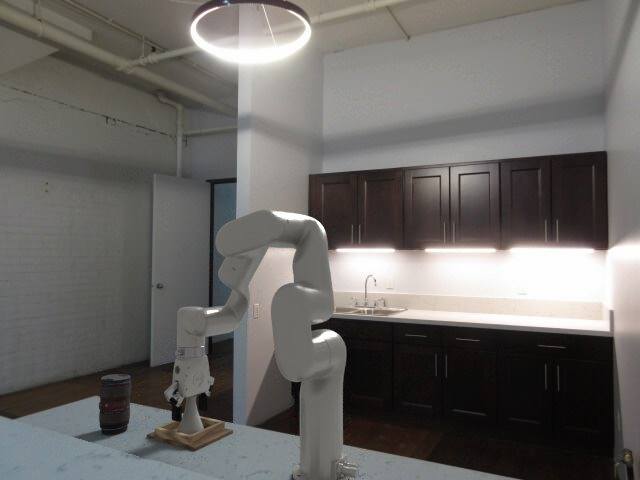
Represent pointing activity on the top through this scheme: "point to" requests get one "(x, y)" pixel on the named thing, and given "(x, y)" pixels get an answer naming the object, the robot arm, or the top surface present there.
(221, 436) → the shaker holder
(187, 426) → the flask
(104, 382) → the camera lens
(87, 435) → the top surface
